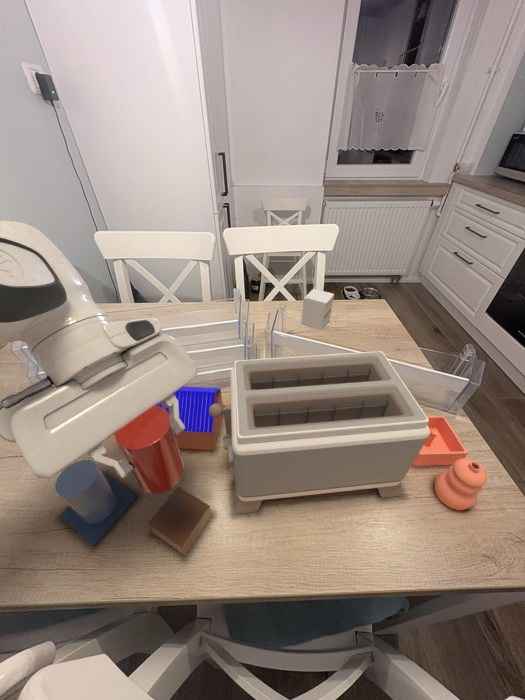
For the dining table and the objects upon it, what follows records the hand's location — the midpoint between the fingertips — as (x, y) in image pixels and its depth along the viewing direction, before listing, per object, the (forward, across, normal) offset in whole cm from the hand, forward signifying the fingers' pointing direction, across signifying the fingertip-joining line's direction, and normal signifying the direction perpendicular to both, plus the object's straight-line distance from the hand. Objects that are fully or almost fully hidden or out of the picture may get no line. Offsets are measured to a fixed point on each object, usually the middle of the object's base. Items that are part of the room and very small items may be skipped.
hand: (155, 451), depth 36 cm
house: (+3, +12, +29) cm, 32 cm away
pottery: (+38, +40, -5) cm, 55 cm away
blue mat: (+6, -8, +26) cm, 28 cm away
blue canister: (+6, -8, +26) cm, 28 cm away
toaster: (+22, +24, +11) cm, 34 cm away
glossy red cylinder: (+3, 0, +4) cm, 5 cm away
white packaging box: (+6, +66, +26) cm, 71 cm away
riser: (+16, 0, +17) cm, 23 cm away
